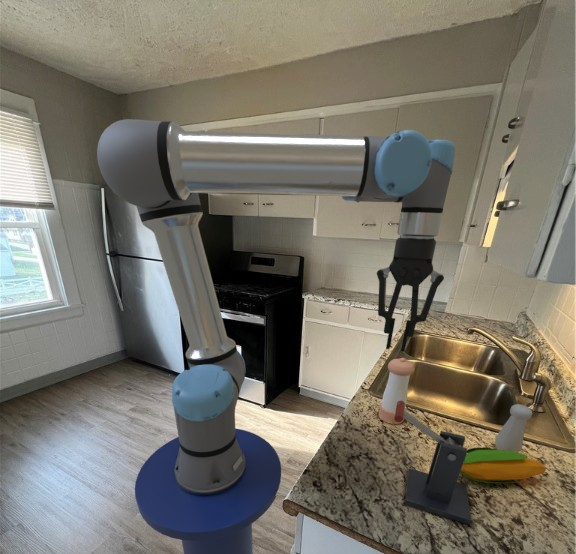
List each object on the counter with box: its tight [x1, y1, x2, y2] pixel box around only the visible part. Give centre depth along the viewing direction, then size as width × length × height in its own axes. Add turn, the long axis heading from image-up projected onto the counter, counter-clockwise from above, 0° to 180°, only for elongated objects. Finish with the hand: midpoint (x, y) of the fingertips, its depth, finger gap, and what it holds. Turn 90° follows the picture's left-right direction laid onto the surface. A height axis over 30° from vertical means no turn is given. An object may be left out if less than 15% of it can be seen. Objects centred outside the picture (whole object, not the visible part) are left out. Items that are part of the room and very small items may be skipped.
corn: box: [460, 446, 547, 484], centre depth 71 cm, size 7×8×20 cm
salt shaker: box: [494, 403, 533, 453], centre depth 78 cm, size 6×6×13 cm
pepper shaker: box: [378, 357, 415, 425], centre depth 89 cm, size 7×7×19 cm
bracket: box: [404, 430, 472, 526], centre depth 64 cm, size 12×10×15 cm
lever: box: [394, 401, 461, 447], centre depth 62 cm, size 14×6×2 cm, turn 69°
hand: (395, 347), depth 72 cm, fingers open, 3 cm apart
